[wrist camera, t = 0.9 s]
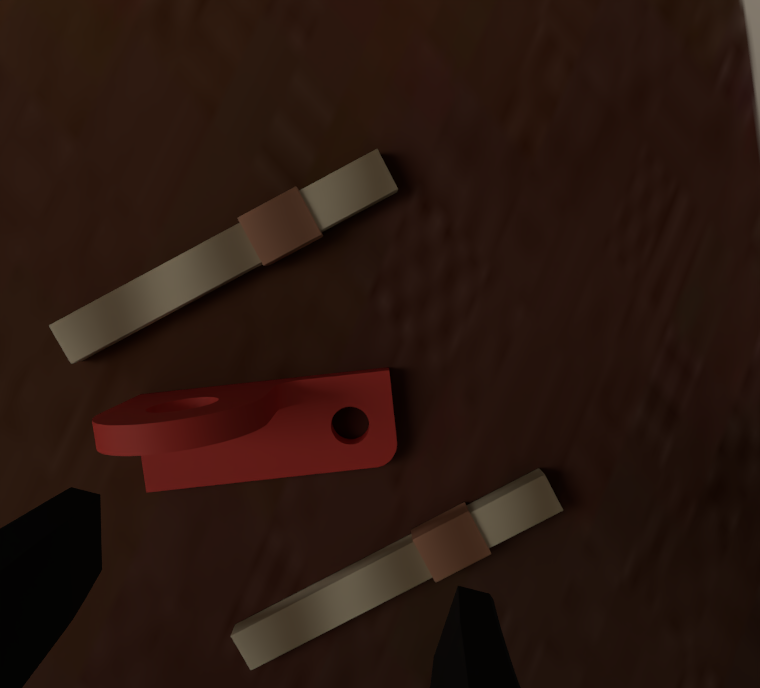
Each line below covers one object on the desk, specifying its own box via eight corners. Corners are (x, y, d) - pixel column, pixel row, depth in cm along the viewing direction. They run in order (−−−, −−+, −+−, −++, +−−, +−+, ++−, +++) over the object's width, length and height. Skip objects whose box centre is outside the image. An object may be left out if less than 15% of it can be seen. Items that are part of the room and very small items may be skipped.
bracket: (155, 484, 30) (77, 555, 22) (141, 394, 30) (57, 433, 22) (398, 457, 30) (407, 519, 22) (388, 367, 30) (394, 396, 22)
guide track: (256, 661, 31) (252, 676, 30) (57, 320, 29) (44, 321, 28) (558, 506, 30) (566, 515, 29) (375, 149, 28) (375, 143, 27)
